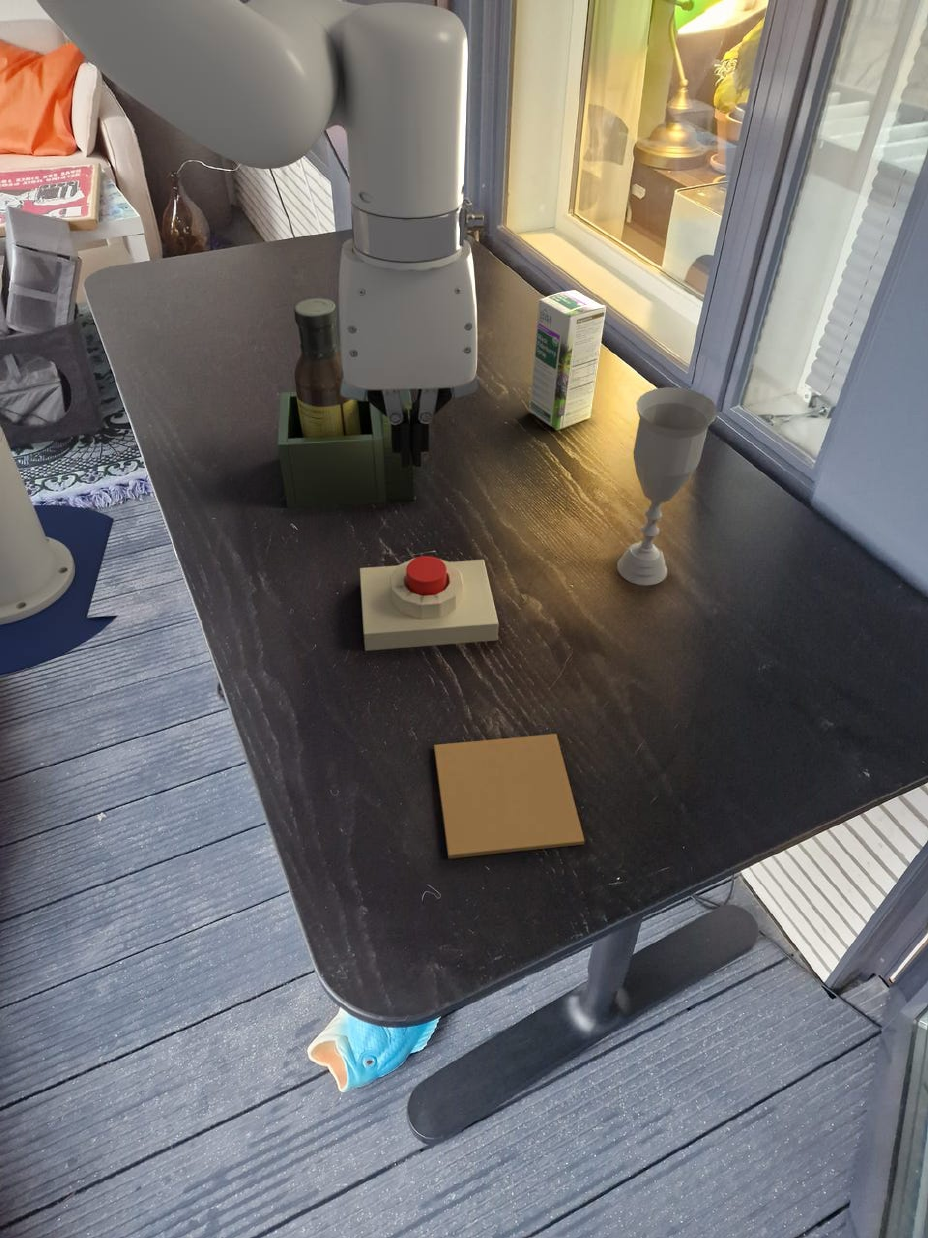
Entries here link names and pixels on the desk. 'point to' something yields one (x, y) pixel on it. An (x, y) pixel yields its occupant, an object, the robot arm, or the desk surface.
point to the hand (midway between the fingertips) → (410, 457)
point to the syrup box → (566, 358)
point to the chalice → (664, 466)
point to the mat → (505, 796)
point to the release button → (426, 575)
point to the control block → (427, 608)
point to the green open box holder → (342, 461)
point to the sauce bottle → (321, 374)
